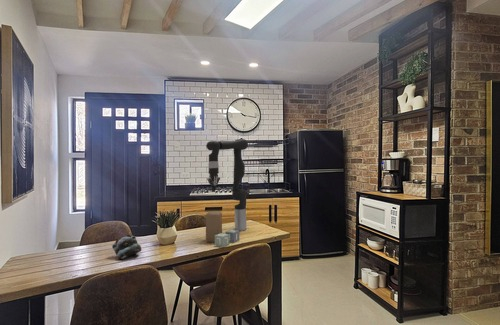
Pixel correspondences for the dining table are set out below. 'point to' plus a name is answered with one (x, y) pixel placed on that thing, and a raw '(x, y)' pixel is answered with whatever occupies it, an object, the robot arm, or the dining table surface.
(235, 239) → the slate numbered cube
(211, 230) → the wooden block
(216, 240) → the sage numbered cube
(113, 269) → the dining table surface
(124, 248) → the dark green lumpy piece
